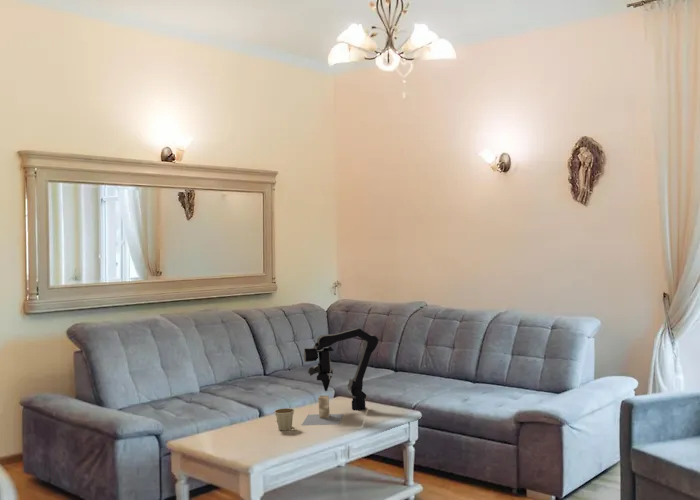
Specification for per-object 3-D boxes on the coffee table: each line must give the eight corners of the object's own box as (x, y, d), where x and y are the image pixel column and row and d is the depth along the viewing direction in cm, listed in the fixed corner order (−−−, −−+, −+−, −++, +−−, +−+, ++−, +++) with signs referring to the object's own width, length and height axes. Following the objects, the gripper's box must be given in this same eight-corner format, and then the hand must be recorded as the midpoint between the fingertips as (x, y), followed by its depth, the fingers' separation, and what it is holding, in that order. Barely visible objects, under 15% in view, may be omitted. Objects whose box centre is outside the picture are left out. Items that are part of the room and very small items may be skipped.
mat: (343, 415, 348) (343, 413, 348) (339, 425, 328) (339, 424, 328) (308, 415, 349) (308, 414, 349) (301, 426, 329) (301, 425, 329)
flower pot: (294, 431, 321) (293, 412, 321) (273, 432, 322) (273, 413, 322) (296, 426, 331) (295, 407, 331) (276, 426, 331) (275, 408, 331)
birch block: (329, 415, 346) (328, 395, 345) (328, 417, 341) (327, 397, 341) (320, 415, 346) (319, 395, 346) (319, 417, 341) (318, 397, 341)
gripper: (311, 357, 362) (313, 387, 362) (305, 364, 344) (307, 395, 344) (332, 356, 361) (334, 386, 361) (328, 363, 343) (329, 394, 343)
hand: (326, 390), depth 352 cm, fingers closed
